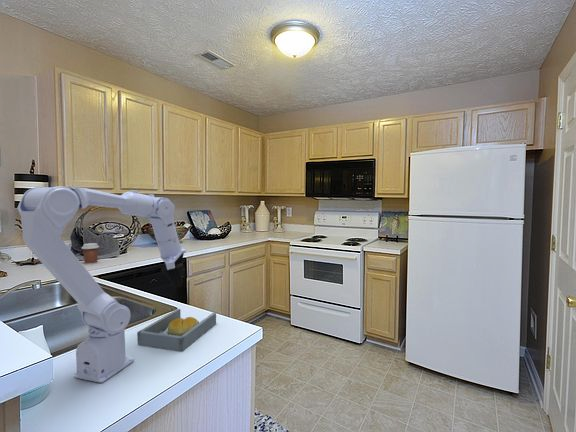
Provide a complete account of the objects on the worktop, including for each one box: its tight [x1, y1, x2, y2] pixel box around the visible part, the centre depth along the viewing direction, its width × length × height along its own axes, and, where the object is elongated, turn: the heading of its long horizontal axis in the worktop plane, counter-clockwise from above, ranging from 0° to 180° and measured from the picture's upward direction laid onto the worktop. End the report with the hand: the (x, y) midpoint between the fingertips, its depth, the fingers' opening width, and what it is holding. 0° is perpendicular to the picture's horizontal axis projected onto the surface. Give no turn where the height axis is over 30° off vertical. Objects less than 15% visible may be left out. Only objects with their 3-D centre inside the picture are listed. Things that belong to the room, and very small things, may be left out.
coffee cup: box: [80, 242, 100, 266], centre depth 184 cm, size 9×9×12 cm
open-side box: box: [136, 308, 217, 352], centre depth 89 cm, size 18×14×4 cm
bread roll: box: [167, 316, 200, 336], centre depth 91 cm, size 8×9×4 cm
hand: (179, 280), depth 89 cm, fingers open, 7 cm apart
